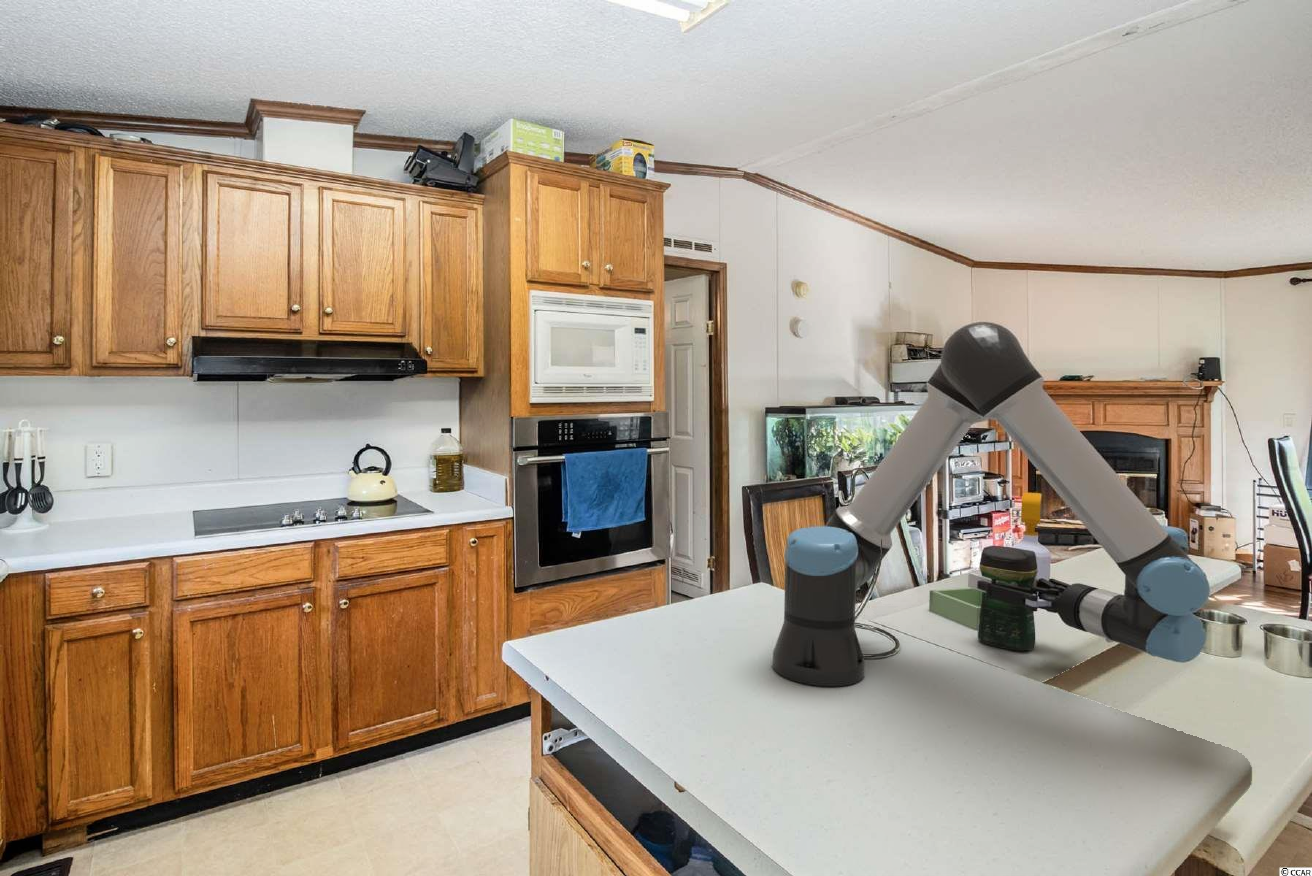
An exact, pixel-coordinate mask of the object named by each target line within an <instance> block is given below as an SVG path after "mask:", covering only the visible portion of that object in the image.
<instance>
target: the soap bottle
mask: <svg viewBox="0 0 1312 876" xmlns="http://www.w3.org/2000/svg"><path fill="white" fill-rule="evenodd" d="M1042 494H1043V493H1040V492H1039V493H1038V492H1022V496H1021V497H1022V498H1021V507H1020V508H1021V509H1020V510H1021V512H1020V523H1024V526H1026V530H1025V531H1022V540H1021V541H1019V542H1017V543H1015V544H1013V545H1012V546H1011V547H1012V548H1018V549H1024V550H1030V551H1034V552H1035V555H1036V562H1037V569H1038V572H1037V575H1036V578H1037V580H1039V579H1041V578H1043V579H1046V580H1047V581H1049V579H1051V561H1052V557H1051V556H1052V555H1051V552H1050V550H1049V549H1048V548H1047V547H1046V546H1044V545H1043V544H1041V543H1040V542H1039V532H1037V531H1036V532H1035V530H1036V529H1035V528H1037V527H1038V525H1041V523H1042V521H1041V506H1042V496H1043V495H1042ZM1037 595H1038V592H1037Z"/></svg>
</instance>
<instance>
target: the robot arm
mask: <svg viewBox="0 0 1312 876" xmlns="http://www.w3.org/2000/svg"><path fill="white" fill-rule="evenodd" d="M1017 338H1018V337H1016V336H1015V335H1014V333H1012V331H1011V330H1010V329H1009V328H1006V327H1004V326H1002V325H1000V324H998V323H995V322H991V321H990V322H987V321H979V322H977V321H976V322H973V323H972V322H971V323H969V324H966V325H964V326H962V327H960V328H959V329H957V330H955V331H954V333H952V334H951V335H950V336H949V337H948V339H947V340H946V342H945V343H944V346H943V348H942V349H941V354H940V363H939V365H938V366H937V368H936V369H935V370H934V372H933V373H932V375H931V376H930V378H929V380H927V382H926V389H927V398H926V399H925V401H924V402H923V403H922V404H921V406H920V407H919V408H918V410H917V411H916V413H915V414H914V416H913V417H912V419H911V420H910V421H909V423H908V424H906V427H905V428H904V430H903V431H902V432H901V434H900V435H899V437H898V438H897V439H896V441H895V442H894V444H892V446H891V448H890V449H889V450H888V452H887V453H886V454H885V456H884V457H883V459H882V460H881V462H880V463H879V464H878V465H877V467H876V469H875V470H874V471H873V473H872V474H871V476H870V477H869V478H868V480H867V481H866V482H865V484H864V485H863V486H862V487H861V489H860V491H858V494H857V495H856V496H855V498H853V501H852V502H851V503H850V504H849V505H845V506H838V507H837V508H836V509H835V511H834V512H833V514H832V515H831V516H830V518H829V519H828V521H826V524H824V525H821V526H819V525H818V526H817V525H816V526H809V527H802V528H799V529H796V530H794V531H792V532H791V533H790V534H789V535H788V537H787V539H786V544H785V545H786V546H785V549H784V561H785V566H784V567H785V568H784V605H783V606H784V608H783V609H784V612H783V614H784V617H783V623H782V626H781V629H780V632H779V634H778V637H777V640H776V643H775V645H774V646H775V647H774V649H773V652H772V668H773V670H774V671H775V672H776V673H777V674H779V675H780V676H781V677H784V678H786V679H789V680H791V681H794V682H797V683H801V684H805V685H810V686H819V687H842V686H849V685H853V684H857V683H859V682H860V681H862V680H863V678H864V677H865V663H866V662H865V659H864V655H863V651H862V648H861V645H860V642H859V638H858V634H857V632H856V627H855V626H856V625H855V622H856V596H857V595H856V592H857V590H858V589H859V588H860V587H861V586H863V585H864V584H865V583H867V582H868V581H869V580H870V579H872V577H873V576H874V574H875V573H876V572H875V571H877V570H876V567H877V566H878V567H879V565H880V563H881V562H882V561H883V559H884V558H885V556H886V555H887V554H888V553H889V551H890V550H891V549H892V547H893V540H892V532H893V531H894V529H896V527H897V526H898V524H899V523H900V522H901V520H902V519H903V518H904V516H906V515H907V512H908V511H909V510H910V509H911V507H912V506H913V505H914V503H915V502H916V501H917V499H918V498H919V496H920V495H921V493H922V492H923V491H924V490H925V489H926V487H927V486H928V485H929V483H930V482H931V480H932V479H933V478H934V477H935V475H936V474H937V472H938V471H939V470H940V468H941V467H942V466H943V464H944V463H945V462H946V461H947V459H948V458H949V457H950V455H951V454H952V453H953V452H954V450H955V449H956V447H957V446H958V445H959V443H960V442H961V441H962V440H963V438H964V437H965V435H966V434H967V433H968V431H969V430H970V429H971V427H972V426H973V425H974V424H978V423H982V422H987V421H989V420H993V421H996V423H998V424H999V426H1000V427H1001V428H1002V429H1003V430H1004V432H1005V433H1006V434H1007V435H1008V437H1010V439H1011V440H1012V441H1013V442H1014V443H1015V445H1016V446H1017V448H1018V449H1019V450H1020V451H1021V452H1022V453H1023V454H1024V455H1025V456H1026V458H1027V459H1028V460H1029V462H1030V463H1031V464H1032V465H1033V466H1034V468H1035V469H1036V470H1037V471H1038V472H1039V473H1040V474H1041V476H1042V477H1043V478H1044V480H1046V482H1047V483H1048V484H1049V485H1050V486H1051V488H1052V489H1053V490H1054V491H1055V492H1056V493H1057V495H1058V496H1059V497H1060V498H1061V500H1062V501H1063V502H1064V503H1065V505H1067V507H1068V508H1069V509H1070V510H1071V512H1072V513H1073V514H1074V515H1075V516H1076V517H1077V519H1078V520H1079V521H1080V523H1082V525H1083V526H1085V528H1086V529H1087V530H1088V532H1089V533H1090V534H1091V535H1092V537H1093V538H1094V539H1095V540H1096V541H1097V542H1098V544H1099V545H1100V547H1102V549H1103V550H1104V551H1105V552H1106V553H1107V554H1108V555H1109V557H1110V558H1111V559H1112V561H1114V563H1115V564H1116V565H1117V567H1118V569H1119V570H1120V571H1121V572H1122V573H1123V574H1124V575H1125V576H1124V590H1123V593H1124V594H1122V593H1117V592H1114V591H1111V590H1107V589H1104V588H1099V587H1098V588H1097V587H1094V586H1092V585H1087V584H1083V583H1077V582H1076V583H1072V584H1069V583H1066V582H1063V581H1060V580H1058V579H1055V578H1053V577H1052V578H1051V577H1050V579H1049V581H1047V580H1046V579H1043V578H1041V579H1039V580H1037V578H1036V577H1035V579H1034V582H1033V588H1031V589H1029V588H1024V587H1018V586H1013V585H1007V584H1002V583H998V581H997V580H996V578H991V579H990V578H987V577H984V576H982V574H981V575H980V574H977V573H973V572H968V580H967V588H973V589H976V590H979V591H982V592H985V593H986V598H989V599H993V600H997V601H1001V602H1005V603H1008V604H1012V605H1016V606H1020V607H1023V608H1026V609H1028V610H1031V611H1033V612H1038V609H1040V610H1045V611H1046V612H1048V613H1054V614H1058V616H1059V618H1060V619H1061V621H1062V622H1063V623H1064V625H1066V626H1067V627H1070V628H1074V629H1076V630H1079V631H1082V632H1084V633H1089V634H1092V635H1095V636H1098V637H1101V638H1104V639H1105V641H1106V642H1107V643H1109V644H1110V643H1113V642H1115V643H1119V644H1121V645H1123V646H1126V647H1129V648H1131V649H1134V650H1137V651H1140V652H1143V653H1146V654H1148V655H1150V656H1152V657H1157V658H1160V659H1165V660H1167V661H1172V662H1175V663H1185V664H1186V663H1188V662H1190V661H1193V660H1194V659H1196V658H1197V657H1199V655H1200V654H1201V653H1202V651H1203V649H1204V646H1205V644H1206V643H1205V642H1206V636H1207V633H1206V629H1205V628H1204V623H1203V621H1202V620H1201V618H1199V616H1197V615H1195V614H1194V613H1196V612H1198V611H1199V610H1200V609H1201V608H1203V606H1205V604H1206V603H1207V602H1208V599H1209V597H1210V593H1211V592H1210V591H1211V589H1210V588H1211V587H1210V582H1209V580H1208V578H1207V575H1206V573H1205V572H1204V570H1203V569H1202V568H1201V567H1200V566H1199V565H1198V564H1197V563H1195V562H1194V561H1193V560H1192V559H1191V558H1190V557H1189V555H1188V553H1189V551H1190V547H1189V544H1188V543H1189V540H1188V539H1189V537H1188V533H1187V532H1186V531H1185V530H1184V529H1182V528H1179V527H1176V526H1169V525H1162V524H1161V523H1160V522H1159V521H1158V520H1157V518H1156V517H1155V516H1154V515H1153V514H1152V513H1151V512H1150V511H1149V510H1148V508H1147V507H1146V506H1145V505H1144V503H1143V502H1142V501H1141V500H1140V499H1139V497H1138V496H1136V494H1135V493H1134V492H1133V490H1131V489H1130V487H1129V486H1128V485H1127V483H1125V482H1124V481H1123V479H1122V478H1121V477H1120V476H1119V475H1118V473H1116V471H1115V470H1114V469H1113V468H1112V467H1111V466H1110V464H1109V463H1108V462H1107V461H1106V460H1105V458H1103V456H1102V455H1101V454H1100V452H1098V451H1097V449H1095V447H1094V446H1093V445H1092V444H1091V443H1090V442H1089V440H1088V439H1087V438H1086V437H1085V436H1084V434H1082V432H1081V431H1080V430H1079V429H1078V428H1077V427H1076V425H1075V424H1074V423H1073V422H1072V421H1071V420H1070V418H1069V417H1068V416H1067V415H1066V414H1065V413H1064V412H1063V410H1062V409H1061V408H1060V407H1059V406H1058V405H1057V403H1056V402H1055V401H1054V400H1053V398H1051V396H1049V394H1048V393H1047V392H1046V391H1045V390H1044V388H1043V386H1044V381H1045V380H1044V376H1042V374H1041V373H1040V372H1039V371H1038V370H1037V369H1036V368H1035V366H1034V365H1033V364H1032V362H1031V361H1030V359H1029V357H1028V356H1027V355H1026V353H1025V352H1024V349H1023V348H1022V346H1021V342H1019V340H1018V339H1017ZM881 539H882V555H881V558H880V544H881ZM879 561H880V563H879ZM878 567H877V568H878ZM1037 592H1038V596H1037Z"/></svg>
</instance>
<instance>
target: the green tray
mask: <svg viewBox="0 0 1312 876" xmlns="http://www.w3.org/2000/svg"><path fill="white" fill-rule="evenodd" d="M981 601H982V591H979V590H976V589H973V588H970V587H960V588H959V587H958V588H957V587H956V588H948V589H947V588H946V589H944V588H943V589H934V590H933V589H932V590H929V602H928V603H929V604H928V605H929V606H928V611H929V612H930V613H931V612H932V613H934V614H936V615H939V616H941V617H944V618H946V619H949V620H951V621H954V622H955V623H958V624H961V625H963V626H966V627H968V628H971V629H973V630H976V631H978V624H979V616H980V609H981Z"/></svg>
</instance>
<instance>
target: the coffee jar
mask: <svg viewBox="0 0 1312 876" xmlns="http://www.w3.org/2000/svg"><path fill="white" fill-rule="evenodd" d="M979 571H980V573H981V576H984V577H987V578H990V579H991V578H996V580H997V581H998V583H1002V584H1007V585H1013V586H1018V587H1024V588H1029V589H1031V588H1033V582H1034V579H1035V577H1036V575H1037V572H1038V569H1037V562H1036V555H1035V552H1034V551H1030V550H1024V549H1018V548H1012V546H1011V547H1009V546H1001V545H989V546H986V547H984V548H983V549H982V551H981V556H980V561H979ZM1035 624H1036V623H1035V615H1034V611H1031V610H1028V609H1026V608H1023V607H1020V606H1016V605H1012V604H1008V603H1005V602H1001V601H997V600H993V599H989V598H986V593H985V592H982V601H981V609H980V616H979V624H978V630H977V638H978V640H979V641H980V642H982V643H984V644H987V645H990V646H993V647H997V648H1002V649H1007V650H1013V651H1026V650H1027V651H1030V650H1031V649H1033V648H1034V647H1035V645H1036V625H1035Z"/></svg>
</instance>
